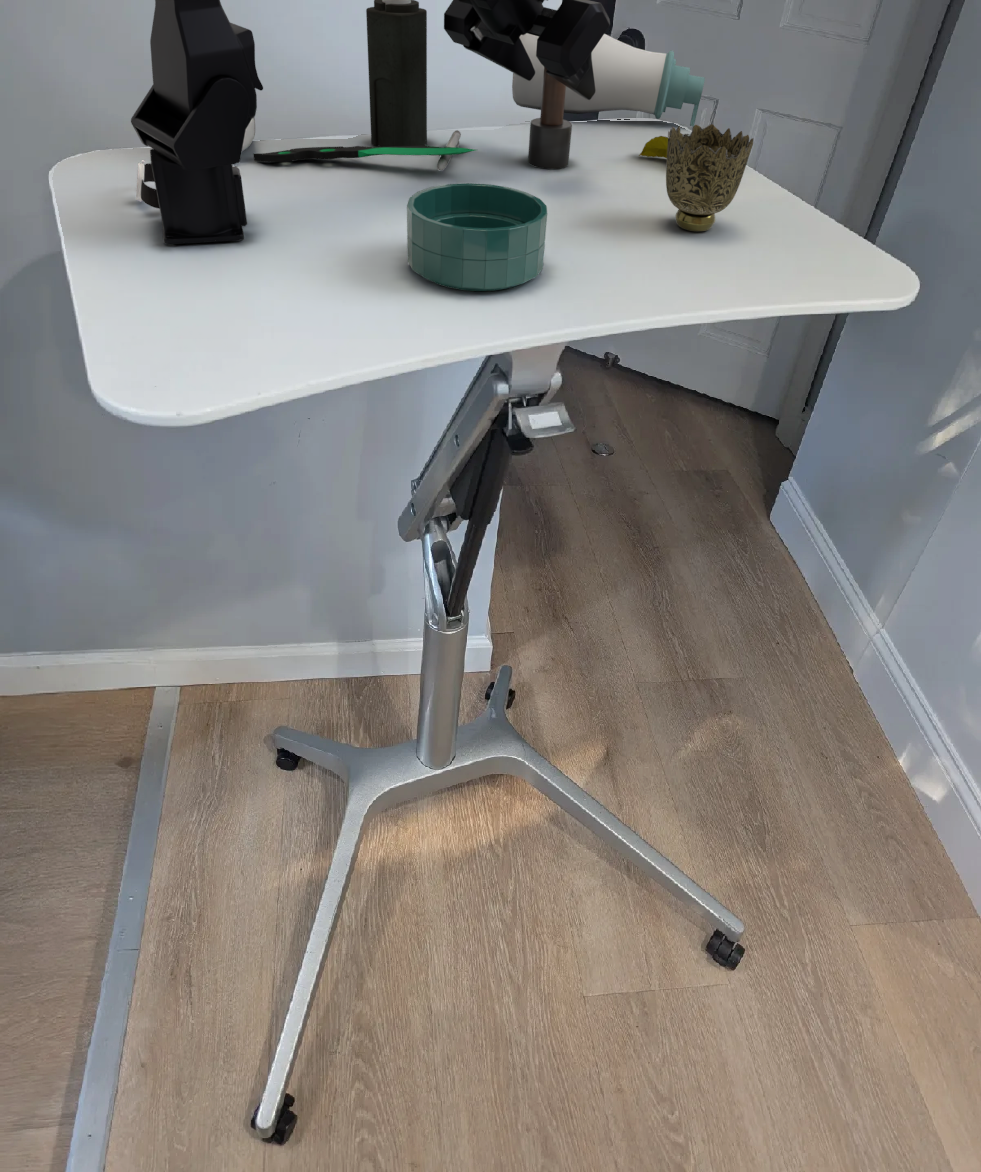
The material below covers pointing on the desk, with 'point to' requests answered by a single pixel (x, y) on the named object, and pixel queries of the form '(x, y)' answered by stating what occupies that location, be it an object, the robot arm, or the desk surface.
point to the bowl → (476, 236)
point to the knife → (354, 152)
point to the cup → (704, 173)
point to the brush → (550, 128)
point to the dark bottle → (397, 72)
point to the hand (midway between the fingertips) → (561, 86)
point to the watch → (142, 189)
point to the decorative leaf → (656, 147)
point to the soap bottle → (618, 81)
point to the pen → (452, 142)
